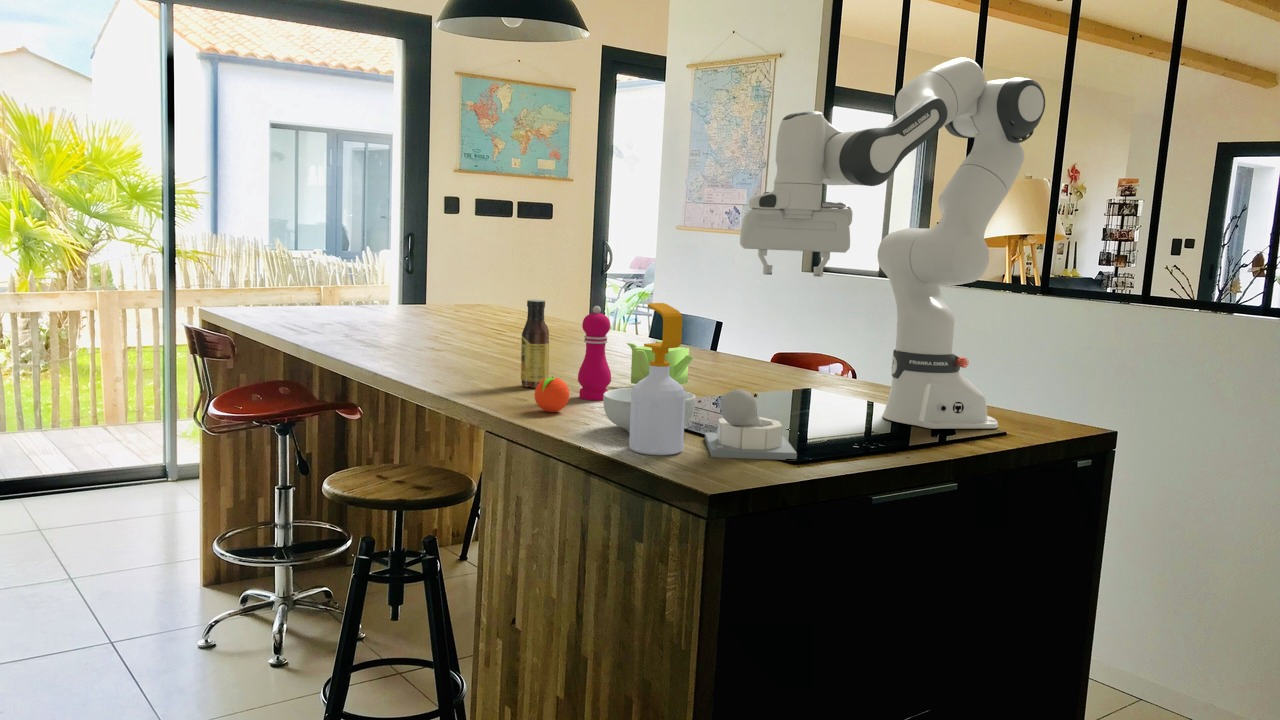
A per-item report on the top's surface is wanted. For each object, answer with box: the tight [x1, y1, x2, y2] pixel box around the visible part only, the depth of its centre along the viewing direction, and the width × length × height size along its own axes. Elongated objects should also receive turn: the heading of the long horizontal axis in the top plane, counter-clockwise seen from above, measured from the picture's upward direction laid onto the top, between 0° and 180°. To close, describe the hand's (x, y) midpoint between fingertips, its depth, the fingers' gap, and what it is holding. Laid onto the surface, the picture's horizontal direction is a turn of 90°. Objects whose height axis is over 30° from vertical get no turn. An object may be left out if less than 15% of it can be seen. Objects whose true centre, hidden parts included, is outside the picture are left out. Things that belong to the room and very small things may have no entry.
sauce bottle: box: [520, 299, 550, 389], centre depth 222 cm, size 6×6×20 cm
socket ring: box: [717, 416, 784, 450], centre depth 167 cm, size 10×10×4 cm
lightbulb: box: [719, 388, 763, 427], centre depth 165 cm, size 6×6×11 cm
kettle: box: [625, 340, 694, 385], centre depth 227 cm, size 15×14×11 cm
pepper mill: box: [577, 305, 612, 402], centre depth 210 cm, size 7×7×20 cm
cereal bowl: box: [602, 387, 697, 434], centre depth 178 cm, size 17×17×7 cm
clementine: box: [534, 376, 570, 413], centre depth 193 cm, size 8×7×7 cm
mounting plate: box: [704, 432, 798, 461], centre depth 167 cm, size 14×14×2 cm
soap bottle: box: [628, 302, 686, 456], centre depth 162 cm, size 9×9×25 cm
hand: (792, 275), depth 182 cm, fingers open, 8 cm apart
